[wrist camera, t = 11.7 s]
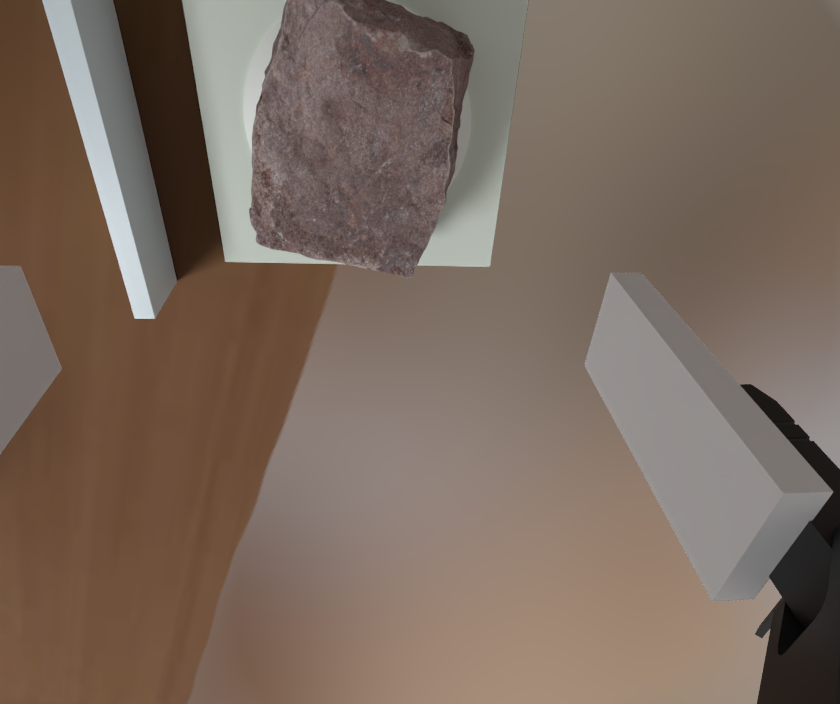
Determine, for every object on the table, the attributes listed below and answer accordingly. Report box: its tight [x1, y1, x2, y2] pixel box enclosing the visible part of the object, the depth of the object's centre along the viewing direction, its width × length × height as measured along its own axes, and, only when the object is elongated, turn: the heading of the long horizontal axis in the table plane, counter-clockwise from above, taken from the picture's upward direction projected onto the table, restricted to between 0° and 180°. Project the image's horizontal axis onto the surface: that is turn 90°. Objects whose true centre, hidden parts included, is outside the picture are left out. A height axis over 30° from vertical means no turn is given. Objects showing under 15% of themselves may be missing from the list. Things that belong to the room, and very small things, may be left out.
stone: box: [249, 0, 475, 279], centre depth 25 cm, size 12×9×5 cm
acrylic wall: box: [42, 0, 177, 319], centre depth 25 cm, size 1×16×4 cm, turn 177°
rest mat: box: [182, 0, 529, 267], centre depth 27 cm, size 15×15×1 cm
